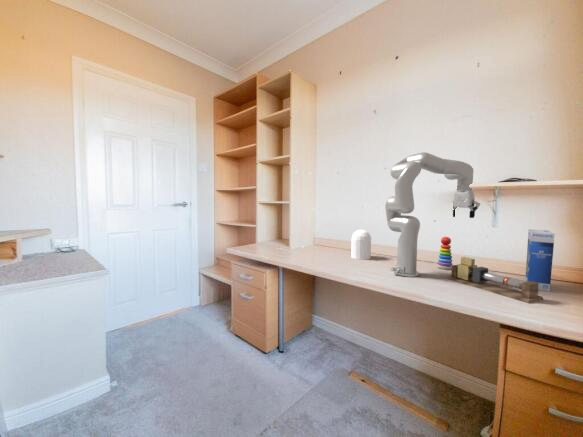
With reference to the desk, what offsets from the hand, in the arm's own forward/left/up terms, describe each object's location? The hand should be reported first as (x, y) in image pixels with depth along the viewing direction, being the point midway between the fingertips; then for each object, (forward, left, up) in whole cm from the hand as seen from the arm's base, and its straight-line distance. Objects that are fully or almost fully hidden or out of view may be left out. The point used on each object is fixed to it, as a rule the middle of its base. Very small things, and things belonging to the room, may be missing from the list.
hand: (463, 217), depth 148 cm
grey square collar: (-25, -25, -28) cm, 45 cm away
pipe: (-25, -29, -27) cm, 47 cm away
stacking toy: (-12, +1, -30) cm, 32 cm away
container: (-40, +43, -30) cm, 66 cm away
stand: (-25, -30, -30) cm, 49 cm away
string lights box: (-2, -37, -30) cm, 47 cm away
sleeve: (-25, -19, -28) cm, 42 cm away
